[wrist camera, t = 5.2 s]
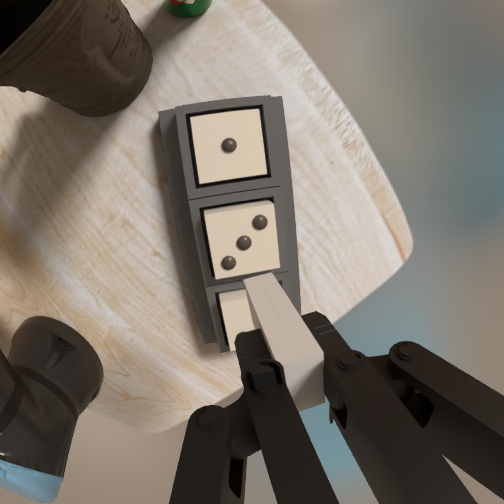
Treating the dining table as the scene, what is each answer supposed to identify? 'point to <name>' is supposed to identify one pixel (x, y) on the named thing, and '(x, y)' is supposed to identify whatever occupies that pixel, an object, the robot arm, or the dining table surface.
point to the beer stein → (74, 53)
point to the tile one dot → (228, 145)
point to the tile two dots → (235, 313)
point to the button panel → (228, 193)
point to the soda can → (187, 7)
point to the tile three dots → (242, 238)
